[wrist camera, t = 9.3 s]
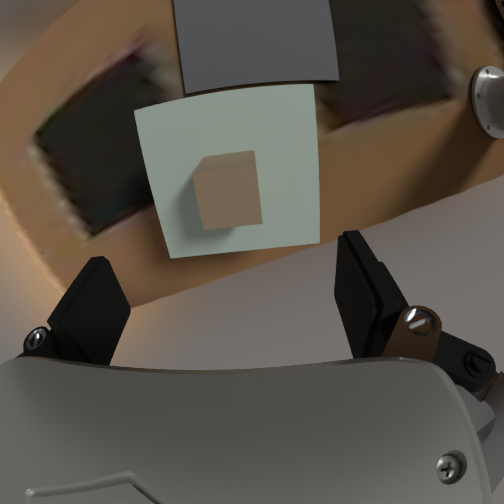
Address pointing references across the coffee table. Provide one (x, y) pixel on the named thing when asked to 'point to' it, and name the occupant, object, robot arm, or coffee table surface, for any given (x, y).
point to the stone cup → (500, 7)
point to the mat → (254, 42)
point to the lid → (234, 169)
